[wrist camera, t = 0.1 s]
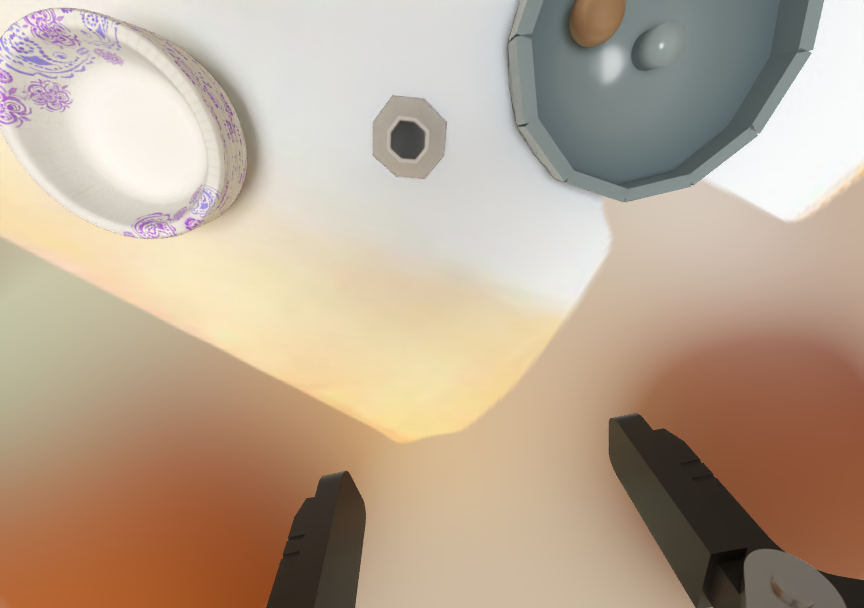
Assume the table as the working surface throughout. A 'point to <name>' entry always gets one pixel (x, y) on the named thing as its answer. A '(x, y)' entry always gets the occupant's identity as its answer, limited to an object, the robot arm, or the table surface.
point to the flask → (409, 137)
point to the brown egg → (595, 20)
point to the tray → (653, 88)
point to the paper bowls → (118, 123)
